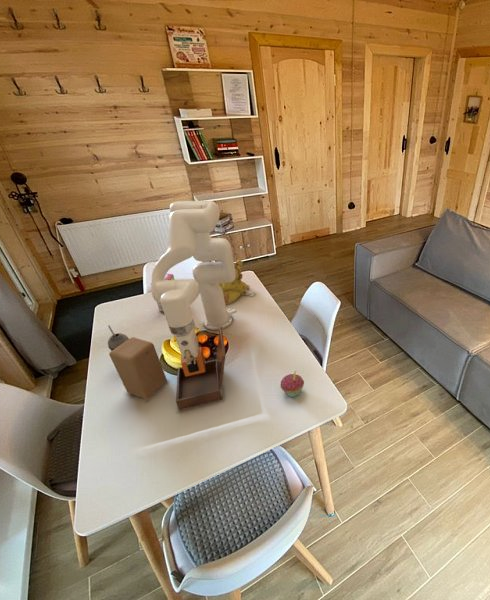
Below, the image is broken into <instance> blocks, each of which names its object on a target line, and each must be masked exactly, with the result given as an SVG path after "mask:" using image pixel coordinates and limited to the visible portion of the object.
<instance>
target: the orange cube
mask: <svg viewBox="0 0 490 600" xmlns="http://www.w3.org/2000/svg"><path fill="white" fill-rule="evenodd" d="M190 355H191V354H190ZM191 361H193V358H191ZM195 361H196V362H197V364H198V367H199V371H196V372H192V373H189V370H188V367H187V363H186V359H183V358H182V355H181V354H180V365H181V367H182V368H183V371H184V374H185V377H186V376H191V375H195V374H199V373H204V372H205V362H206V358H205V356H204V351H203V348H202V346H198V356H197V357H195Z"/></svg>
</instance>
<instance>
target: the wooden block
mask: <svg viewBox="0 0 490 600" xmlns="http://www.w3.org/2000/svg"><path fill="white" fill-rule="evenodd" d="M108 355H109V357H110V360H111V361H112V363H113V365H114V367H115V369H116V372H117V374H118V376H119V378H120V380H121V382H122V384H123V386H124V389H125V390H126V392H127V394H129V395H133V396H135V397H138V398H142V399H144V400H148V399H150V398H151V397H152V396H153V395H154V394H155V393H157V392H158V391H159V390H160V389H161V388H162V387H163V386H164V385H165V384H167V382H168V378H167V376H166V374H165V371H164V368H163V366H162V363H161V360H160V358H159V356H158V353H157V350H156V348H155V345H154V343H153V342H152V341H148V340H144V339H141V338H139V337H138V338H137V337H135V336H132V337H129V339H128V340H127V341H126V342H124V343H123V344H121V345H120V346H118V347H117V348H115V349H114V350H112V351H111V350H110V352H109V354H108Z"/></svg>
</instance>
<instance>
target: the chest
mask: <svg viewBox="0 0 490 600" xmlns="http://www.w3.org/2000/svg"><path fill="white" fill-rule="evenodd" d="M175 391H176V394H175V403H176V405H177V408H178V410H179V411H182V410H185V409H191V408H193V407H197V406H202V405H205V404H209V403H213V402H217V401H220V400H223V392H222V391H223V390H222V388H221V390H219V387H218V374H217V361H216V359H212V360H207V361H205V372H204V373H199V374H195V375H191V376H186V377H185V374H184V371H183V368H182V366H180V367H179V366H178V367H177V376H176V390H175Z"/></svg>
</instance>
